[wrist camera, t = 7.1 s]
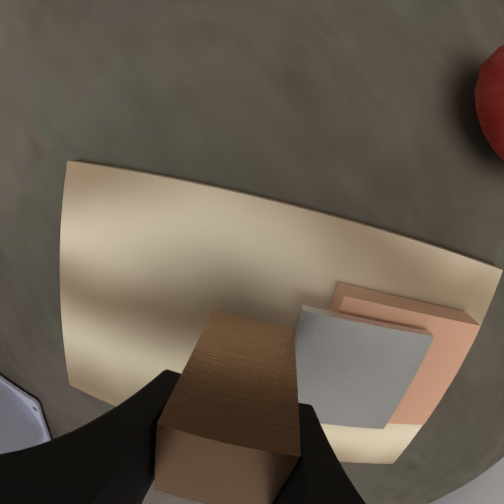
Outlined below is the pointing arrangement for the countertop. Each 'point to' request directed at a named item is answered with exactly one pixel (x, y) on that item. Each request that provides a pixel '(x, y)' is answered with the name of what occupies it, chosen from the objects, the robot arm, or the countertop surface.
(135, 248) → the board
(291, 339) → the bookend
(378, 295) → the tile
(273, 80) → the countertop surface
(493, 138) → the onion
